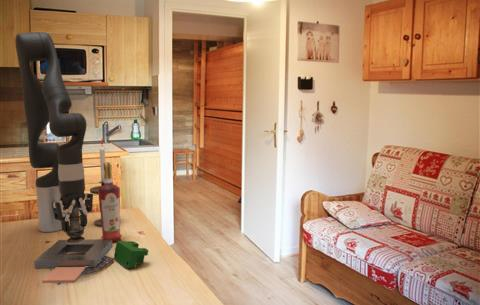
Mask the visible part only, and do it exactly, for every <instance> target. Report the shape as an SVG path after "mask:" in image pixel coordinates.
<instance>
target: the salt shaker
mask: <svg viewBox="0 0 480 305" xmlns="http://www.w3.org/2000/svg"><path fill="white" fill-rule="evenodd" d="M68 221H69V230H70V231H69V232H68V233H66V235H67V237H69V238H68V239H66V240H67V242H70V243H76V242H80V241H83V240H86V239H85V238H86V237H84V236H83V235H84V232H85V229H86V226H85V227H83V226H81V225H80V213H79V208H74V209H73V210H72V213H71V214H70V215H69V219H68Z"/></svg>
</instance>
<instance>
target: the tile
mask: <svg viewBox="0 0 480 305" xmlns="http://www.w3.org/2000/svg"><path fill="white" fill-rule="evenodd" d="M85 268H86V267H56V268H52V270H51V271H50V272H49V273H48V274H47V275H46V276H45V277H44V278H43V279H42V281H41V282H42V283H75V282H76V281H77V280H78V279H79V278H80V277H81V275H82V274H83V273H84V272H83V270H84V269H85ZM86 269H87V268H86ZM82 272H83V273H82ZM81 273H82V274H81Z"/></svg>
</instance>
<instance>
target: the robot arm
mask: <svg viewBox="0 0 480 305" xmlns="http://www.w3.org/2000/svg"><path fill="white" fill-rule="evenodd" d="M14 44H15V50H16V55H17V61H18V67H19V71H20V78H21V79H20V80H21V85H22V86H21V87H22V98H23V101H22V102H23V107H24V108H23V109H24V115H25V121H26V126H27V139H28V158H29V164H30V166H31V167H32V169H46V168H47V169H51V168H52V170H51V171H49V172H48V173H46V174H44V175H42V176H39V177H37V178H36V179H35V192H36V203H37V214H38V215H37V216H38V227H39V228H38V229H39V230H38V231H40V232H43V233H53V232H58V231H62V232H64V233H66V234H67V233H68V232H69V231H70V230H69V225H70V222H69V215H70V214H71V213H72V210H73V209H74V208H79V216H80V218H79V219H80V225H81V226H83V227H85V228H86V227H87V225H88V214H89V213H91V212H93V205H94V204H93V202H94V201H93V200H94V194H92V193H90V192H86V193H85V191H86V184H85V182H86V180H85V168H84V167H85V166H84V164H83V145H84V140H85V136H86V132H87V120H86V117H84V114H82V113H79V112H70V113H69V112H68V111H69V110H71V108H72V105H73V102H72V99H71V97H70V95H69V92H68V89H67V87H66V86H65V85H66V84H65V83H64V79H63V75H62V71H61V67H60V66H61V65H60V62H59V58H58V54H57V50H56V47H55V44H54V40H53V38H52V36H51V35H50V34H49V33H48V32H46V31H45V32H44V31H36V32H35V31H34V32H33V31H32V32H19V33H17V34H16V35H15V43H14ZM40 61H41V62H44V61H47V69H46V72H45V75H44V77H43V80H42V82H41V80H40V79H39V78H38V76H37V75H36V74H35V72H34V71H33V68H32V66H31V63H32V62H40ZM66 112H68V113H66ZM47 125H48V126H49V131H50V132H51V134H52V135H53V136H54V137H57V138H65V137H71V138H70V140H69V141H68V142H66V143H64V144H61V145H60V144H58V143H56V142H54V143H53V142H52V143H50V142H49V143H39V140H40V137H41V135H42V133H43V131H44V130H45V128H46V127H47Z"/></svg>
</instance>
